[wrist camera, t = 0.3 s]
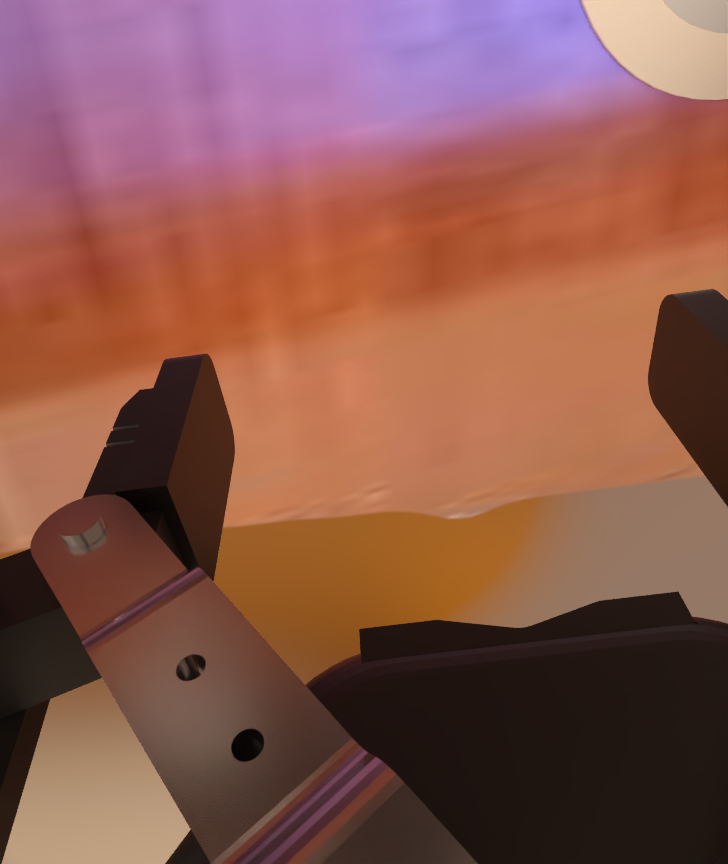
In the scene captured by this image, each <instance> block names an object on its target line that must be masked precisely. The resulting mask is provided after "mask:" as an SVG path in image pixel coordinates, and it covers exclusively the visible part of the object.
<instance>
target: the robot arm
mask: <svg viewBox="0 0 728 864" xmlns="http://www.w3.org/2000/svg"><path fill="white" fill-rule="evenodd" d="M648 385H649V391H650V395H651V398H652V401H653V403H654V405H655V407H656V408H657V410H658V411H659V412H660V414H661V415H662V416H663V418H664V419H665V421H666V422H667V423H668V425H669V426H670V428H671V429H672V430H673V432H674V433H675V434H676V436H677V437H678V439H679V440H680V441H681V443H682V444H683V446H684V447H685V448H686V450H687V451H688V452H689V454H690V455H691V457H692V458H693V459H694V461H695V462H696V464H697V465H698V466H699V468H700V469H701V470H702V472H703V473H704V475H705V476H706V477H707V479H708V480H709V481H710V483H711V484H712V486H713V487H714V488H715V490H716V491H717V493H718V494H719V495H720V497H721V498H722V499H723V501H724V502H725V504H726V505H727V506H728V300H727V299H726V298H725V297H724V296H722V295H721V294H720V293H719V292H718V291H716V290H714V289H709V290H701V291H694V292H686V293H678V294H671V295H667V296H666V297H665V298H664V299H663V301H662V303H661V306H660V309H659V314H658V320H657V326H656V332H655V337H654V343H653V349H652V355H651V360H650V366H649V373H648ZM106 445H107V447H104V449H103V452H102V454H101V456H100V459H99V461H98V463H97V466H96V468H95V470H94V473H93V475H92V477H91V480H90V482H89V484H88V487H87V489H86V491H85V494H84V496H83V498H82V499H79V500H76V501H74V502H72V503H69V504H67V505H65V506H64V507H62V508H60V509H59V510H57V511H56V512H54V513H53V514H52V515H50V516H49V517H48V518H47V519H46V520H45V521H44V522H43V523H42V524H41V525H40V526H39V528H38V529H37V531H36V532H35V534H34V536H33V538H32V541H31V546H30V547H31V548H30V549H28V550H25V551H23V552H20V553H17V554H14V555H12V556H9V557H6V558H3V559H0V864H1V863H2V860H3V856H4V853H5V850H6V846H7V843H8V840H9V836H10V833H11V830H12V826H13V823H14V819H15V816H16V813H17V809H18V806H19V803H20V799H21V796H22V792H23V789H24V785H25V782H26V779H27V775H28V772H29V769H30V765H31V762H32V759H33V755H34V752H35V748H36V745H37V741H38V738H39V735H40V732H41V728H42V725H43V721H44V718H45V714H46V711H47V708H48V704H49V701H50V699H51V698H53V697H56V696H58V695H61V694H63V693H66V692H68V691H71V690H73V689H76V688H78V687H80V686H83V685H85V684H88V683H90V682H93V681H95V680H97V679H100V678H103V680H104V682H105V684H106V685H107V687H108V689H109V690H110V692H111V694H112V696H113V697H114V699H115V700H116V702H117V704H118V706H119V707H120V709H121V711H122V713H123V714H124V716H125V718H126V719H127V721H128V723H129V724H130V726H131V728H132V730H133V731H134V733H135V735H136V737H137V738H138V740H139V742H140V743H141V745H142V747H143V748H144V750H145V752H146V753H147V755H148V757H149V759H150V760H151V762H152V764H153V765H154V767H155V769H156V771H157V772H158V774H159V776H160V777H161V779H162V781H163V783H164V784H165V786H166V788H167V789H168V791H169V793H170V794H171V796H172V798H173V800H174V801H175V803H176V805H177V806H178V808H179V810H180V812H181V813H182V815H183V816H184V818H185V820H186V822H187V824H188V825H189V827H190V829H191V830H190V831H189V833H188V834H187V836H186V837H185V838H184V839H183V841H182V842H181V843H180V845H179V846H178V848H177V849H176V850H175V851H174V853H173V854H172V855H171V857H170V858H169V859H168V861H167V862H166V863H165V864H728V624H727V623H723V622H719V621H714V620H709V619H704V618H699V617H692V616H691V614H690V612H689V610H688V609H687V607H686V605H685V604H684V601H683V599H682V598H681V596H680V594H679V592H671V593H663V594H654V595H646V596H637V597H629V598H621V599H612V600H604V601H598V602H595V603H592V604H589V605H587V606H584V607H581V608H579V609H576V610H573V611H571V612H568V613H565V614H563V615H559V616H557V617H554V618H551V619H549V620H546V621H543V622H541V623H538V624H535V625H532V626H529V627H525V628H510V627H500V626H490V625H481V624H471V623H461V622H452V621H442V620H432V621H424V622H415V623H407V624H399V625H390V626H382V627H373V628H365V629H360V630H359V632H360V650H361V654H358V655H355V656H353V657H350V658H347V659H345V660H343V661H341V662H339V663H337V664H335V665H333V666H331V667H330V668H328V669H327V670H325V671H324V672H322V673H321V674H319V675H318V676H316V677H314V678H313V679H312V680H311V681H310V682H308V683H307V684H306V685H305V684H304V683H303V682H302V681H301V680H300V679H299V677H298V676H297V675H295V673H294V672H293V671H292V670H291V669H290V667H289V666H288V665H287V664H286V663H285V662H284V661H283V659H282V658H281V657H280V656H279V655H278V654H277V653H276V652H275V650H274V649H273V648H272V647H271V646H270V645H269V644H268V643H267V641H266V640H265V639H264V638H263V637H262V636H261V635H260V634H259V632H258V631H257V630H256V629H255V628H254V627H253V626H252V625H251V624H250V622H249V621H248V620H247V619H246V618H245V617H244V616H243V615H242V613H241V612H240V611H239V610H238V609H237V608H236V607H235V606H234V604H233V603H232V602H231V601H230V600H229V599H228V598H227V597H226V596H225V594H224V593H223V592H222V591H221V590H220V589H219V588H218V586H217V585H216V584H215V583H214V582H213V581H214V575H215V569H216V563H217V557H218V551H219V546H220V540H221V534H222V528H223V522H224V516H225V510H226V504H227V498H228V492H229V486H230V480H231V474H232V468H233V462H234V455H235V445H234V435H233V429H232V425H231V421H230V418H229V415H228V411H227V408H226V405H225V401H224V398H223V395H222V391H221V388H220V385H219V381H218V378H217V375H216V371H215V368H214V365H213V362H212V360H211V358H210V356H209V355H208V354H201V355H193V356H185V357H177V358H170V359H165V360H164V362H163V364H162V367H161V369H160V372H159V375H158V377H157V380H156V383H155V385H154V388H151V389H144V390H139V391H138V392H137V393H136V394H135V395H134V396H133V397H132V398H131V399H130V400H129V401H128V402H127V403H126V404H125V405H124V406H123V407H122V408H121V410H120V412H119V414H118V417H117V419H116V421H115V424H114V426H113V431H111V433H110V435H109V438H108V440H107V442H106Z"/></svg>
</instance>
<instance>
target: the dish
mask: <svg viewBox="0 0 728 864" xmlns="http://www.w3.org/2000/svg"><path fill="white" fill-rule="evenodd" d="M579 1H580V5H581V7H582V9H583V11H584V14H585V16H586V18H587V21H588V23H589V25H590V27H591V29H592V31H593V32H594V34H595V35H596V37H597V39H598V40H599V42H600V43H601V45H602V47H603V48H604V49H605V50H606V51H607V52H608V54H609V55H610V56H611V57H612V58H613V59H614V61H615V62H616V63H617V64H618V65H619V66H621V67H622V68H623V69H624V70H625V71H627V72H628V73H629V74H630V75H631V76H632V77H634V78H636V79H637V80H639V81H641V82H643V83H644V84H646V85H648V86H649V87H651V88H654V89H657V90H659V91H662V92H665V93H667V94H671V95H676V96H681V97H686V98H692V99H706V100H721V99H728V0H579Z"/></svg>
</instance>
